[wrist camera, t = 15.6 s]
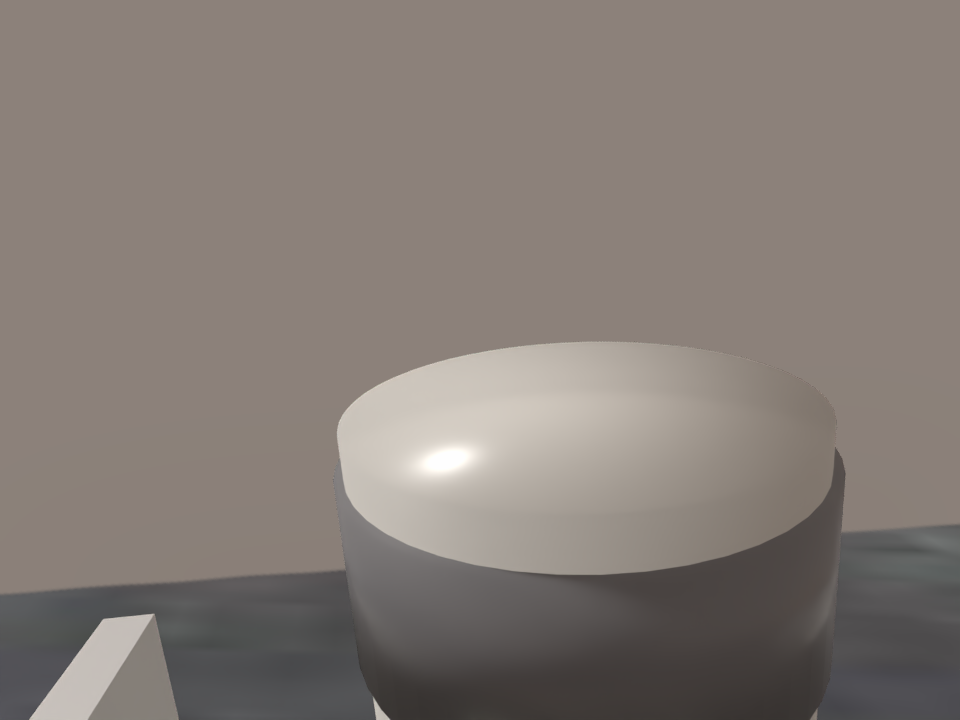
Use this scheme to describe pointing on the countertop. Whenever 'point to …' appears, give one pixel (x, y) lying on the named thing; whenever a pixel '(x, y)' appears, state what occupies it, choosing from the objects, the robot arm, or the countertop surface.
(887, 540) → the countertop surface
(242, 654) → the countertop surface
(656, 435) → the white round peg
